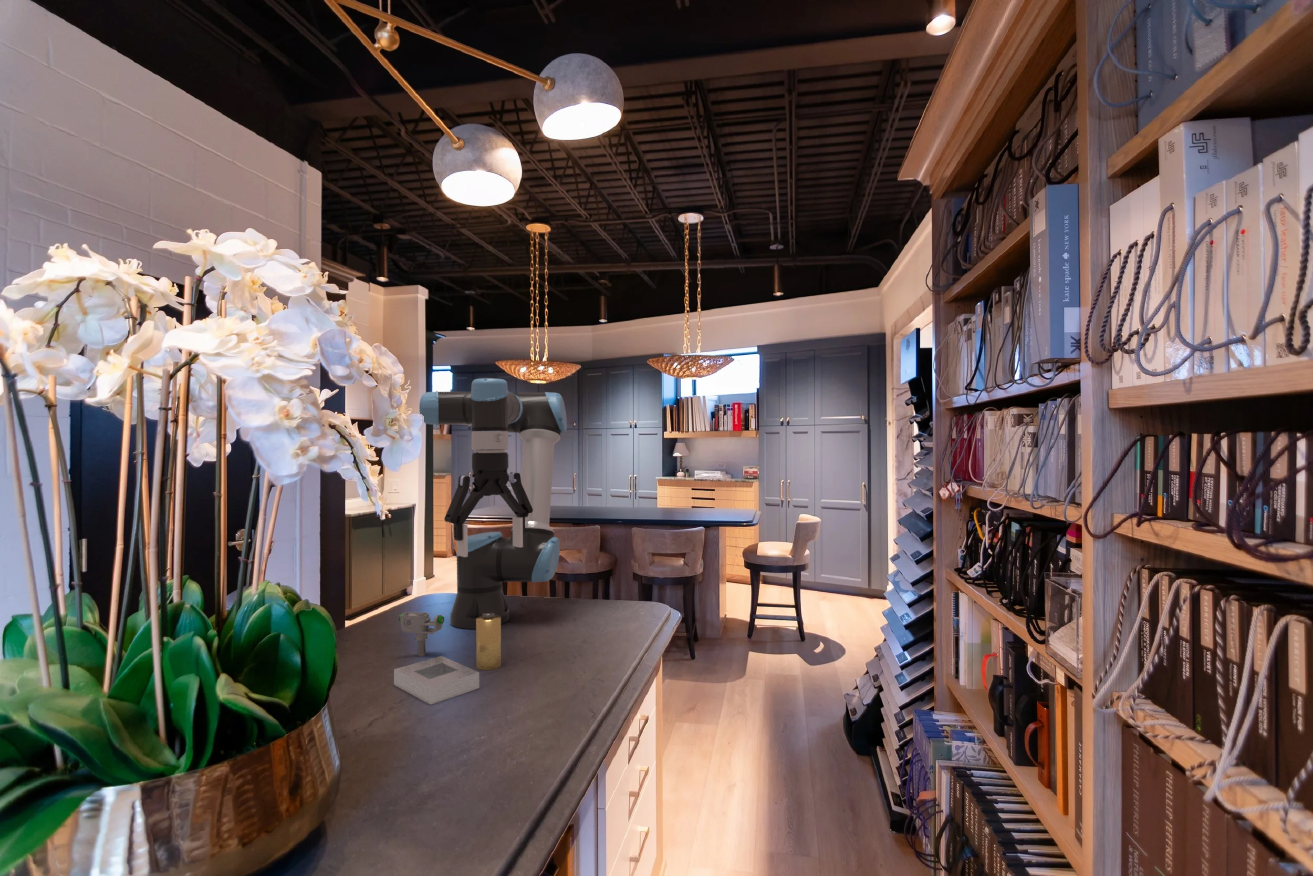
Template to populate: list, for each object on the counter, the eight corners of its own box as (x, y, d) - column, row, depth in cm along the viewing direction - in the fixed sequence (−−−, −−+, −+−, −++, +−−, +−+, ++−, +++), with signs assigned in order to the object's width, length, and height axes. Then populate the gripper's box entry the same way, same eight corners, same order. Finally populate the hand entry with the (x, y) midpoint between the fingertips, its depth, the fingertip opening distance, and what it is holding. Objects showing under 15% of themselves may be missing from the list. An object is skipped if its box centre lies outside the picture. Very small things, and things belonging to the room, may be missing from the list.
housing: (394, 689, 123) (393, 669, 123) (441, 675, 130) (441, 655, 130) (430, 710, 114) (430, 688, 114) (479, 693, 121) (479, 672, 121)
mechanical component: (439, 663, 137) (438, 617, 137) (396, 660, 140) (396, 615, 140) (446, 658, 140) (445, 613, 140) (404, 655, 142) (404, 611, 142)
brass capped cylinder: (471, 670, 133) (471, 613, 133) (492, 664, 137) (491, 608, 137) (485, 676, 130) (484, 618, 130) (505, 670, 133) (505, 613, 133)
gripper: (445, 453, 123) (446, 563, 123) (548, 450, 141) (548, 544, 141) (426, 453, 128) (427, 557, 128) (527, 449, 146) (528, 541, 147)
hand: (491, 551), depth 135 cm, fingers open, 13 cm apart
